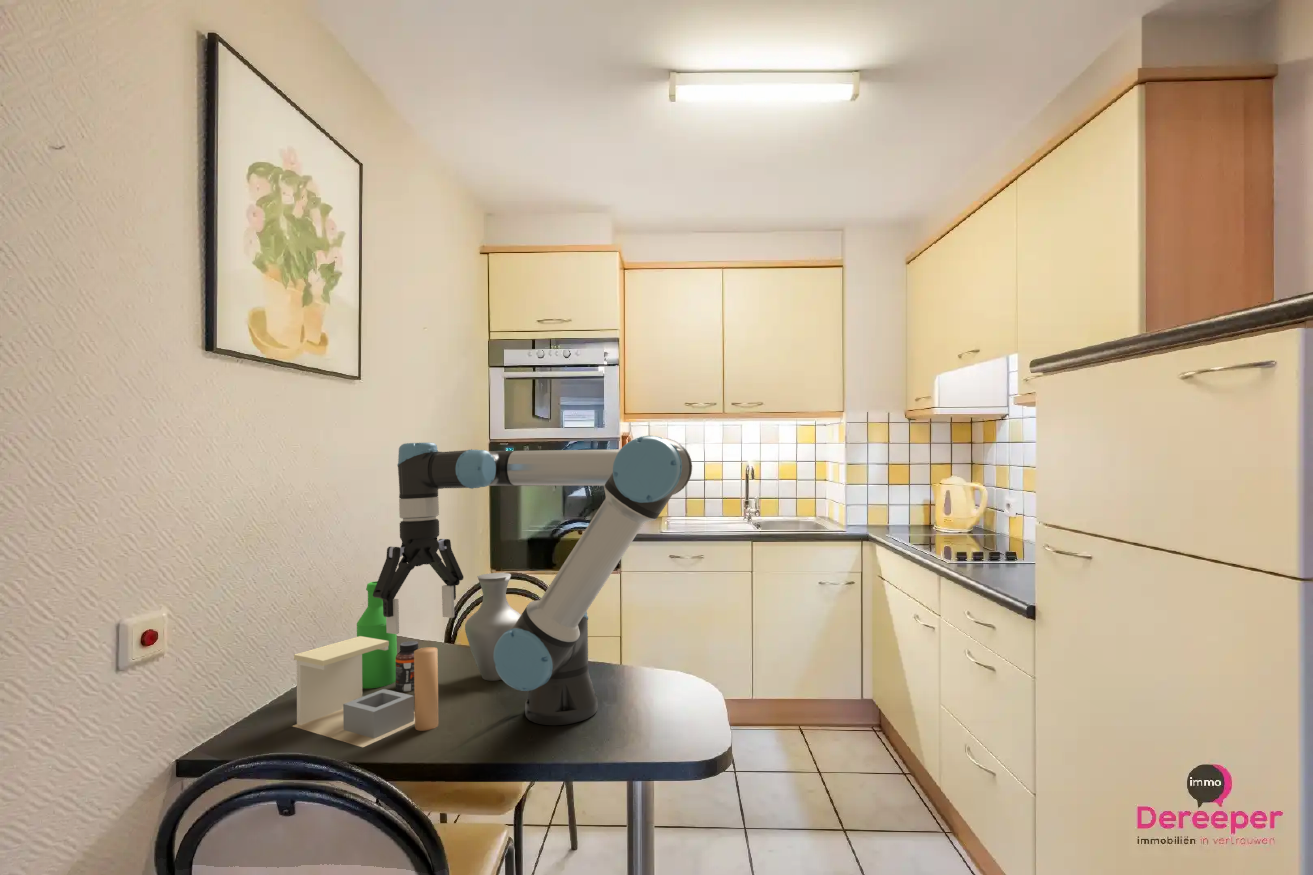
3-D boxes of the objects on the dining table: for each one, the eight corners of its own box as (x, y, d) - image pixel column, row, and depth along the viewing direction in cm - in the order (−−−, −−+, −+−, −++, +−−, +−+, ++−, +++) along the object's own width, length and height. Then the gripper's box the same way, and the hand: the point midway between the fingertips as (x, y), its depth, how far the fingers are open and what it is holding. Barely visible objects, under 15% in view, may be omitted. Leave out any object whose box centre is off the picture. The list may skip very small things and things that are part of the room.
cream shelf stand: (389, 706, 137) (388, 640, 137) (323, 733, 124) (323, 660, 124) (360, 699, 142) (360, 635, 142) (294, 724, 128) (293, 654, 129)
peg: (443, 729, 127) (442, 648, 128) (425, 738, 123) (424, 654, 124) (427, 725, 129) (427, 646, 130) (410, 734, 125) (409, 651, 126)
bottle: (398, 678, 159) (397, 577, 160) (395, 690, 150) (394, 583, 151) (359, 683, 156) (358, 580, 157) (354, 695, 148) (353, 586, 149)
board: (432, 721, 131) (432, 715, 131) (363, 753, 117) (363, 747, 117) (362, 704, 142) (362, 698, 142) (292, 731, 128) (292, 725, 128)
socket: (413, 720, 129) (413, 695, 129) (374, 738, 121) (373, 711, 121) (383, 713, 133) (383, 688, 134) (343, 729, 125) (343, 703, 126)
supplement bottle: (413, 697, 146) (412, 647, 146) (390, 695, 147) (389, 646, 147) (427, 688, 152) (427, 639, 152) (405, 686, 153) (404, 639, 153)
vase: (485, 665, 168) (483, 569, 169) (535, 668, 164) (533, 570, 165) (453, 684, 154) (452, 579, 155) (507, 688, 150) (505, 581, 151)
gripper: (454, 513, 142) (456, 609, 141) (351, 524, 120) (353, 638, 119) (478, 513, 138) (481, 612, 137) (376, 525, 117) (379, 642, 116)
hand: (421, 624), depth 128 cm, fingers open, 13 cm apart
